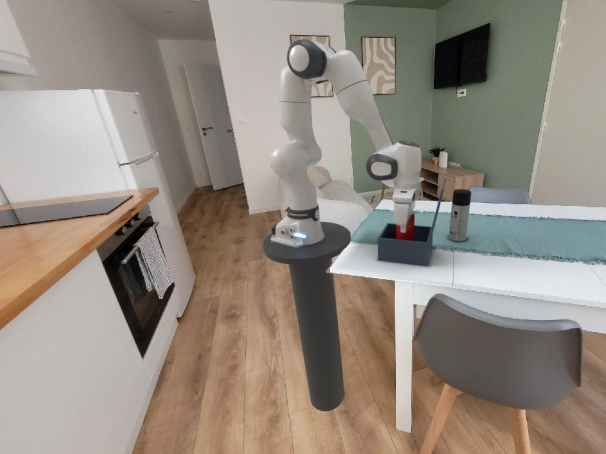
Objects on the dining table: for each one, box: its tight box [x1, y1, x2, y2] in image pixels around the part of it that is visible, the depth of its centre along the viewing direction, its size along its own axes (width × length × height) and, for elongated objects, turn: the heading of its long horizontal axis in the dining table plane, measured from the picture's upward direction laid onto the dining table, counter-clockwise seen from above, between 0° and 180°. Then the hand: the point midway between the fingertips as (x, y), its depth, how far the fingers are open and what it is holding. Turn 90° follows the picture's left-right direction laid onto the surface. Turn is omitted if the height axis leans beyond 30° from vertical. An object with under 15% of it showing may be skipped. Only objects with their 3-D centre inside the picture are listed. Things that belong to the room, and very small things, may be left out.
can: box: [396, 210, 416, 241], centre depth 104 cm, size 6×6×12 cm
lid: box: [428, 177, 447, 242], centre depth 98 cm, size 18×15×1 cm
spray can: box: [448, 188, 472, 243], centre depth 114 cm, size 7×7×20 cm
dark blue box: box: [377, 222, 434, 267], centre depth 106 cm, size 18×15×9 cm
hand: (405, 227), depth 104 cm, fingers closed on can, 6 cm apart
